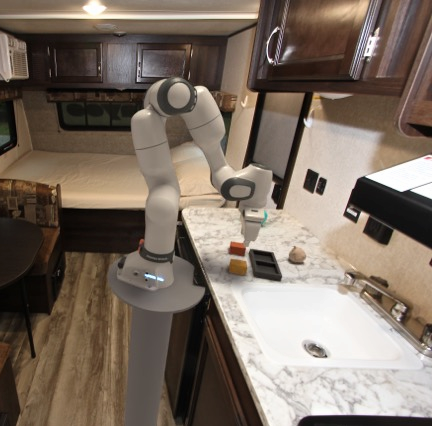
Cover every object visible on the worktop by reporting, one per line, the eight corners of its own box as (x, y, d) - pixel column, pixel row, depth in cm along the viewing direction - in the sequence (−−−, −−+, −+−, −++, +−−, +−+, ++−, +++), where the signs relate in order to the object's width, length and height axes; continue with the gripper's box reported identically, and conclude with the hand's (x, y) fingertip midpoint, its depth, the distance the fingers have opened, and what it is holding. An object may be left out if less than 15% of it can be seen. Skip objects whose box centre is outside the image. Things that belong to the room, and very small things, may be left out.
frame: (254, 276, 115) (255, 271, 114) (248, 253, 131) (250, 248, 129) (280, 281, 112) (282, 276, 111) (272, 257, 128) (273, 252, 127)
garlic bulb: (285, 255, 129) (290, 240, 126) (302, 258, 128) (307, 242, 124) (288, 263, 124) (293, 247, 120) (305, 266, 122) (311, 250, 119)
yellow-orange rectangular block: (229, 272, 117) (231, 264, 115) (228, 266, 121) (230, 258, 119) (245, 275, 115) (247, 267, 114) (244, 269, 119) (246, 261, 118)
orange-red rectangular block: (229, 253, 130) (231, 246, 128) (229, 248, 134) (230, 241, 132) (244, 256, 128) (246, 248, 127) (243, 251, 132) (245, 243, 131)
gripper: (240, 196, 118) (233, 227, 123) (245, 217, 100) (237, 251, 106) (256, 198, 116) (249, 229, 122) (265, 220, 98) (256, 254, 104)
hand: (244, 240), depth 113 cm, fingers open, 8 cm apart
